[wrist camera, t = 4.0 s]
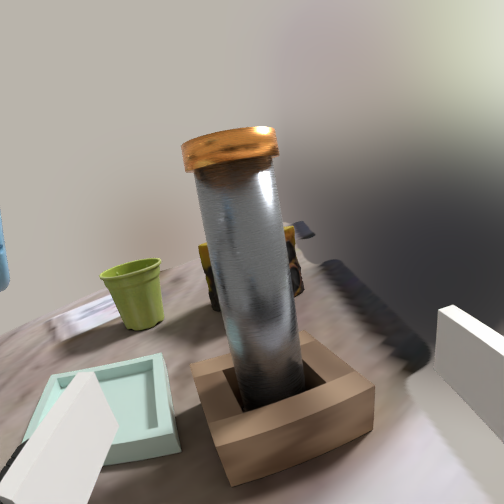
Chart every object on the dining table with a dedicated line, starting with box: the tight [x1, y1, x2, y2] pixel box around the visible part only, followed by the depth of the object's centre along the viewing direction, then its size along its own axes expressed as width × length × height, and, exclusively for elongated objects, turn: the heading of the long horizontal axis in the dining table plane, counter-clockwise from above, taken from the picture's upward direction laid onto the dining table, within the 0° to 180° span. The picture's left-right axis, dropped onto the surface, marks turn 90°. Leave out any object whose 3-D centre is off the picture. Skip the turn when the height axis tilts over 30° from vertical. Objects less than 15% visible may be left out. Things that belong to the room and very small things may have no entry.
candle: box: [198, 226, 304, 311], centre depth 46 cm, size 10×10×10 cm
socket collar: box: [190, 330, 375, 487], centre depth 21 cm, size 10×10×4 cm
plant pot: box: [99, 258, 164, 330], centre depth 44 cm, size 9×9×9 cm
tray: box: [22, 353, 182, 466], centre depth 23 cm, size 13×13×2 cm
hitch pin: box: [181, 127, 306, 412], centre depth 20 cm, size 5×5×20 cm
